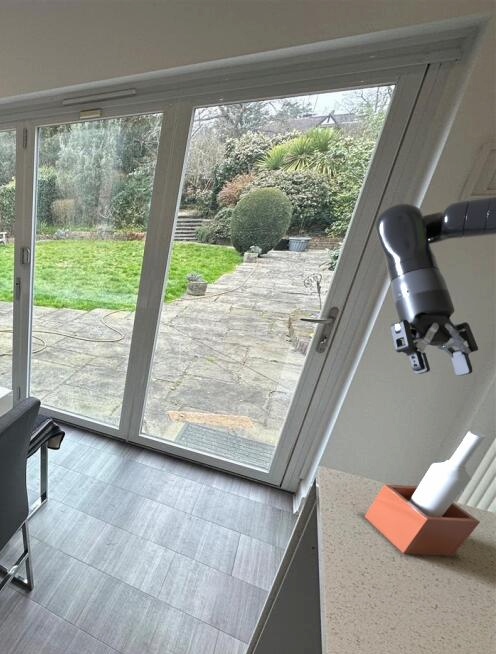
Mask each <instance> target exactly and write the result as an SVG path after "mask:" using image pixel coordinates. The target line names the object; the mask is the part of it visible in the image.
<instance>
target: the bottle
mask: <svg viewBox="0 0 496 654" xmlns="http://www.w3.org/2000/svg"><path fill="white" fill-rule="evenodd" d="M486 437H487V436H486V435H485V434H484V433H482V432H479V431H476V430H469V431H468V432H467V433H466V435H465V437H463V439H462V442H461V443H460V445H459V446H458V447H457V449H456V450H455V452H454V453H453V454H452V456H451V457H450V459H449V460H448V459H447V460H445V461H444V462H433V463H432V464H431V465H430V467H429V468H428V470H427V472H426V473H425V475H424V477H423V478H422V480H421V481H420V483H419V485H417V486H418V488H417V489H416V491H415V492H414V494H413V496H412V497H411V499H410V501H409V502H410V503H411V504H413V505H414V506H415V507H416V508H418V509H419V510H420V511H421V512H423V513H424V514H425V515H426V516H428V517H442V516H443V514H444V513H445V512H446V510H447V509H448V508H449V507H450V505H451V504H452V503H454V502H455V500H456V499H457V498H458V496H459V495H460V494H461V492H463V490H464V489H465V487H467V485H468V484H469V482H470V481H471V479H472V478H471V476H470V474H469V473H468V472H467V471H466V469H467V467H466V465H467V463H468V462H469V461H470V460H471V457H472V456H473V454H474V453H475V452H476V450H477V449H478V448H479V447H480V445H482V443H483V442H484V440H485V439H486Z"/></svg>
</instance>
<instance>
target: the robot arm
mask: <svg viewBox="0 0 496 654" xmlns="http://www.w3.org/2000/svg"><path fill="white" fill-rule="evenodd" d="M374 228H375V229H374V230H375V232H376V235H377V239H378V242H379V244H380V246H381V249H382V251H383V254H384V257H385V264H386V271H387V275H388V278H389V281H390V285H391V294H392V299H393V302H394V305H395V310H396V312H397V316H398V320H399V321H398V322H395V323H393V324H390V332H391V335H392V340H393V345H394V350H395V352H396V353H403V354H404V355H405V356H407V357H408V359H409V363H410V367H411V369H412V370H413V373H414V374H416V375H421V374H427V373H428V372H430V371H431V367H430V363H429V360H428V357H427V353H426V352H424V351H425V350H426V347H427V346H433V347H437V349H439V350H441V351H445V352H446V353H447V354H448V355H449V356H450V361H451V364H452V367H453V371H454V374H455V375H456V376H466V375H470V374H472V373H473V366H472V365H473V364H472V362H471V360H470V357H469V355H470V354H471V353H473V352H478V351H479V346H478V344H477V341H476V339H475V336H474V334H473V332H472V329H471V326H470V324H469V323H468V322H466V321H463V322H461V323H458V324H456V323H455V324H454V323H453V322H452V320H451V316H452V315H453V314H454V313H455V311H456V310H455V307H454V304H453V301H452V296H451V294H450V291H449V287H448V285H447V281H446V280H445V277H444V276H443V274H442V272H441V270H440V267H439V263H438V260H437V257H436V255H435V253H434V251H433V249H432V246H431V245H432V244H436V243H440V242H444V241H447V240H453V239H463V238H464V239H467V238H477V237H485V236H486V237H487V236H494V235H496V195H494V196H493V195H492V196H487V197H480V198H472V199H467V200H460V201H456V202H453V203H450V204H449V205H447V206H446V207H445V208H444V210H442V211H439V212H434V213H429V214H425V215H424V213H423V212H422V210H421V208H419V207H418V206H416V205H415V204H410V203H398V204H394V205H391V206H389V207H388V208H386V209H385V210H383V211H382V212H381V213H380V214H379V215H378V217H377V219H376V220H375V225H374ZM403 341H404V344H403ZM465 342H466V343H467V345H466V344H465ZM453 347H455V348H453Z"/></svg>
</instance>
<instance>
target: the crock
mask: <svg viewBox="0 0 496 654" xmlns="http://www.w3.org/2000/svg"><path fill="white" fill-rule="evenodd" d="M418 486H419V485H405V484H403V485H402V484H386V483H385V484H383V486H382V487H381V489H380V490H379V492H378V493H377V495H376V497H375V498H374V500H373V502H372V503H371V505H370V507H368V508H369V509H368V510H367V512H366V513H365V515H364V518H365V519H366V520H367V521H368V522H370V523H371V525H372V526H374V528H376V529H377V530H378V531H379V532H380V533H381V534H382V535H383V536H384V537H385V538H386V539H387V540H388V541H390V542H391V543H392V544H393V546H395V547H396V548H397V549H398V550H399V551H400V552H401V553H402V554H408V555H409V554H410V555H411V554H412V555H413V554H414V555H432V556H449V557H450V556H452V557H453V556H455V554H456V553H457V552H458V551H459V549H460V548H461V547H462V546H463V544H465V542H466V541H467V539H468V538H469V537H470V536H471V534H472V533H473V532H474V531H475V529H476V528H477V527H478V525H479V524H480V523H481V521H480V520H479V519H477V518H476V517H475V516H472V515H471V514H470V513H469V512H467V511H466V510H464V508H462V507H461V506H460V505H457V504H456V503H455V502H453V503H452V504H451V505H450V507H449V508H448V509H447V510H446V512H445V513H444V514H443V516H442V517H428V516H426V515H425V514H424V513H423V512H421V511H420V510H419V509H418V508H416V507H415V506H414V505H413V504H411V503H410V502H409V501H410V499H411V497H412V496H413V494H414V492H415V491H416V489H417V488H418Z"/></svg>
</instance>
